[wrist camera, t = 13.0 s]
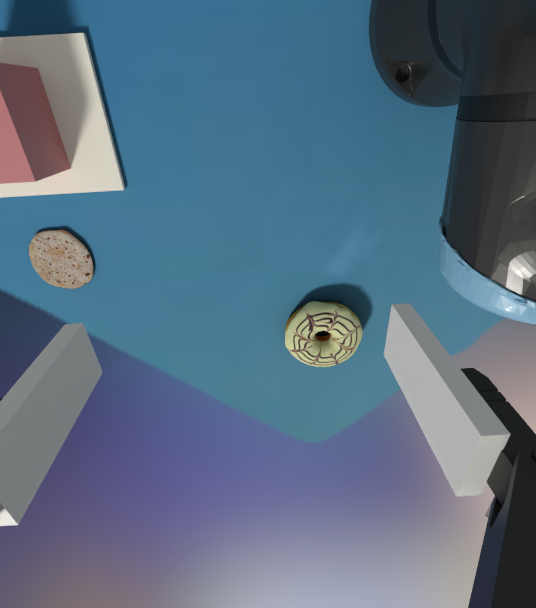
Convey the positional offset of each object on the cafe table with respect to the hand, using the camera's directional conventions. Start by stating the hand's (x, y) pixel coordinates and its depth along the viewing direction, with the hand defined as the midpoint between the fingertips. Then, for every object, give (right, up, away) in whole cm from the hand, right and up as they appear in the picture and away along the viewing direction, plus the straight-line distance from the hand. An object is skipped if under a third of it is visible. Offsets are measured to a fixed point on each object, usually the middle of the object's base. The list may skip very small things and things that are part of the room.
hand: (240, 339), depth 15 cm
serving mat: (-22, +20, +20) cm, 36 cm away
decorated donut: (+9, -2, +35) cm, 36 cm away
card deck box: (-22, +20, +20) cm, 36 cm away
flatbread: (-25, +7, +28) cm, 38 cm away
